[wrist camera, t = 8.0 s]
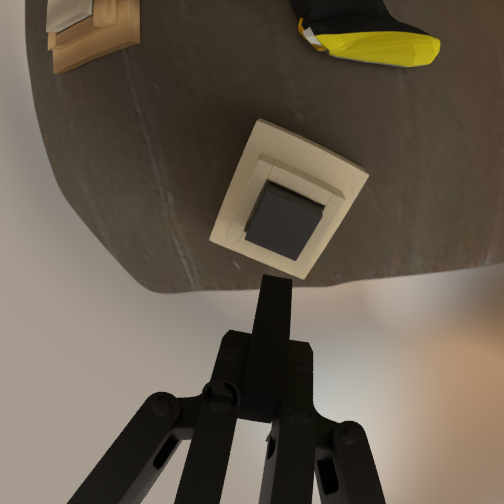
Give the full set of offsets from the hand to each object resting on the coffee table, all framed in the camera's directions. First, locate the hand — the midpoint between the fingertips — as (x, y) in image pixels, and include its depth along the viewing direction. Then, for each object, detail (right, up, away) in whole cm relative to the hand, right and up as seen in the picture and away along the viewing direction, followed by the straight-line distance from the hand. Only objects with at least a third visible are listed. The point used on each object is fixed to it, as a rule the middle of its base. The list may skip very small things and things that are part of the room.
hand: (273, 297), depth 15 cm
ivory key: (-17, +25, -2) cm, 30 cm away
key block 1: (-16, +27, +1) cm, 31 cm away
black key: (+1, +5, +7) cm, 9 cm away
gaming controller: (+6, +23, 0) cm, 24 cm away
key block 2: (+2, +7, +11) cm, 13 cm away
